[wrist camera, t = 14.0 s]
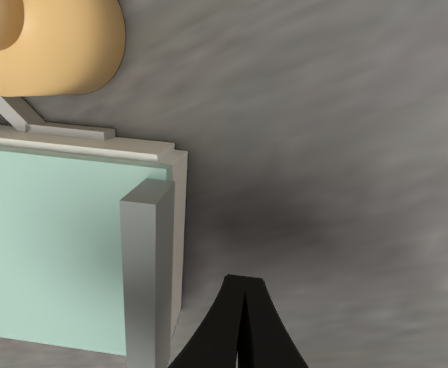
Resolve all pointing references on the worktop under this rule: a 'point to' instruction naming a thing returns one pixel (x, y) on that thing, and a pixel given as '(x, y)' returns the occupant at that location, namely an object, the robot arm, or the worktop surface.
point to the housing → (109, 148)
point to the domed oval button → (59, 46)
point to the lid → (87, 253)
